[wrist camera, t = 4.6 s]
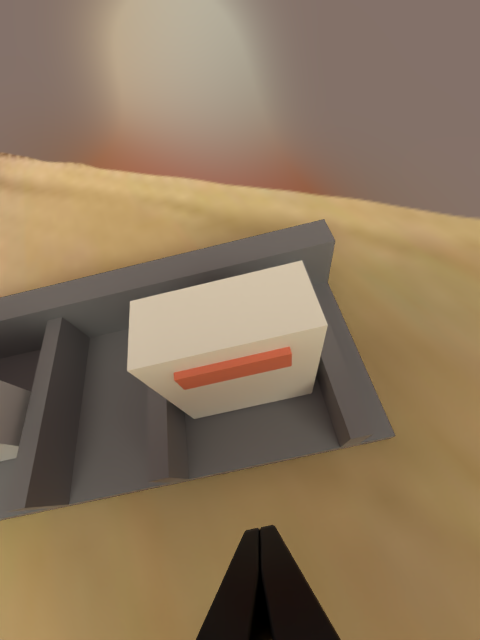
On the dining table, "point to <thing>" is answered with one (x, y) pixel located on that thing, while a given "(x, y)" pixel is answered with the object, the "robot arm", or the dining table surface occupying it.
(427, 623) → the dining table surface
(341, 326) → the grey compartment tray
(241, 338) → the cream block
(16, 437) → the white box
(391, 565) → the dining table surface
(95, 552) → the dining table surface
